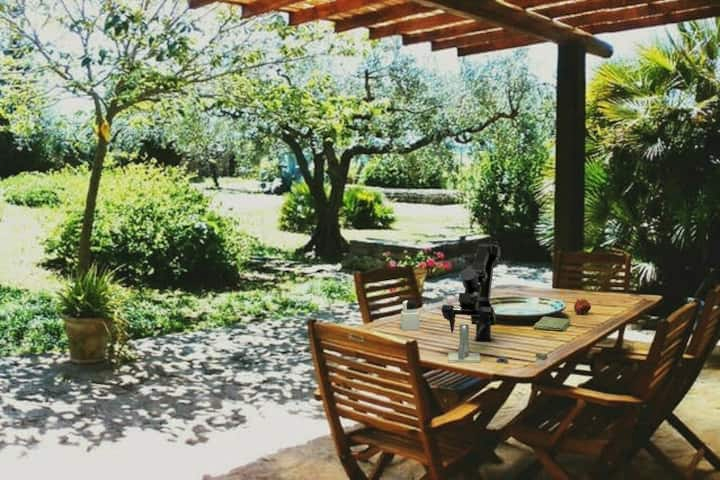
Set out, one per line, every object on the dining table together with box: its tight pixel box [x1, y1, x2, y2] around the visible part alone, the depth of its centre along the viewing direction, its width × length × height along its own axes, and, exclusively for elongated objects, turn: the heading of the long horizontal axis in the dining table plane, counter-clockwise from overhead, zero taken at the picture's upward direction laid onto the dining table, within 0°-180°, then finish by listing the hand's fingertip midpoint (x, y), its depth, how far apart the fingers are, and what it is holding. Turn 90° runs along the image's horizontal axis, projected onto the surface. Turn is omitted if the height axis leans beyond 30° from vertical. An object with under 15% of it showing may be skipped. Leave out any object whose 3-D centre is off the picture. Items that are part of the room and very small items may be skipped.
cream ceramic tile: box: [448, 351, 482, 363], centre depth 256 cm, size 11×11×1 cm
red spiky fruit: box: [573, 298, 592, 317], centre depth 331 cm, size 7×7×10 cm
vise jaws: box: [496, 352, 548, 364], centre depth 253 cm, size 5×19×1 cm, turn 104°
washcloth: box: [533, 316, 571, 332], centre depth 306 cm, size 13×18×3 cm
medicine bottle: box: [400, 299, 420, 331], centre depth 308 cm, size 7×7×12 cm
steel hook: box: [457, 324, 470, 360], centre depth 254 cm, size 7×3×11 cm, turn 158°
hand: (464, 332), depth 256 cm, fingers open, 9 cm apart
